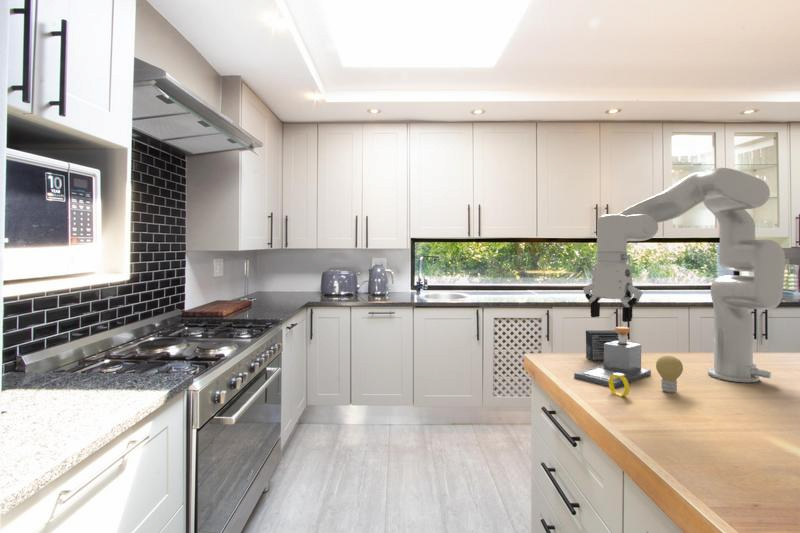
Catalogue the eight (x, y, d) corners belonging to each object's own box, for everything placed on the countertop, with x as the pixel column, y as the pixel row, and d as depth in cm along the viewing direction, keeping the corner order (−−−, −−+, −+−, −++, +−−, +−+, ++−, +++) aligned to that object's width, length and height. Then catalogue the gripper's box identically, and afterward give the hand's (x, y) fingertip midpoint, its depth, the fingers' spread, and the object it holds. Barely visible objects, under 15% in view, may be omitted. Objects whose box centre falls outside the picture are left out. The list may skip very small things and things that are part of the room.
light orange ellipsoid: (632, 351, 137) (632, 328, 136) (626, 353, 134) (626, 329, 134) (619, 349, 140) (619, 326, 140) (612, 351, 138) (612, 327, 137)
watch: (606, 393, 119) (605, 372, 119) (614, 392, 119) (613, 371, 120) (623, 398, 113) (622, 376, 113) (632, 397, 114) (630, 375, 114)
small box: (614, 357, 158) (614, 329, 157) (622, 362, 151) (622, 332, 151) (585, 357, 159) (585, 329, 158) (591, 361, 152) (591, 332, 152)
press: (650, 374, 135) (651, 345, 135) (615, 388, 122) (615, 355, 122) (610, 366, 146) (610, 338, 145) (574, 377, 133) (574, 347, 132)
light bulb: (674, 396, 115) (674, 359, 114) (650, 389, 120) (651, 355, 120) (687, 392, 117) (687, 357, 117) (664, 386, 123) (664, 352, 123)
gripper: (650, 258, 113) (648, 322, 114) (592, 258, 129) (591, 314, 129) (633, 258, 110) (632, 324, 110) (576, 258, 125) (575, 316, 125)
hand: (610, 319), depth 120 cm, fingers open, 9 cm apart
